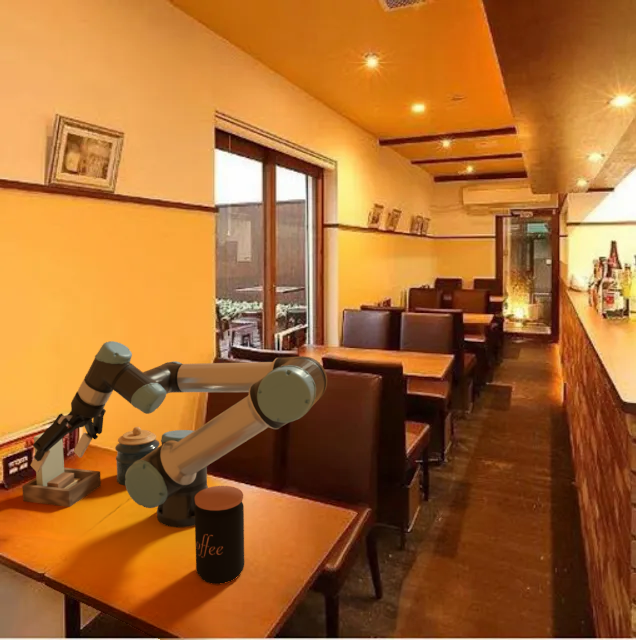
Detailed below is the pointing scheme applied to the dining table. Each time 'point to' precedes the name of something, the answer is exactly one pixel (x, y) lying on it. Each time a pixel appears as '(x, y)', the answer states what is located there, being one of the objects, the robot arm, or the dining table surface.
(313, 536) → the dining table surface
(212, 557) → the coffee jar
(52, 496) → the tray
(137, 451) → the canister
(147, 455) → the robot arm
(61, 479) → the offcut top
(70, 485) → the offcut bottom
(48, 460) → the panel
